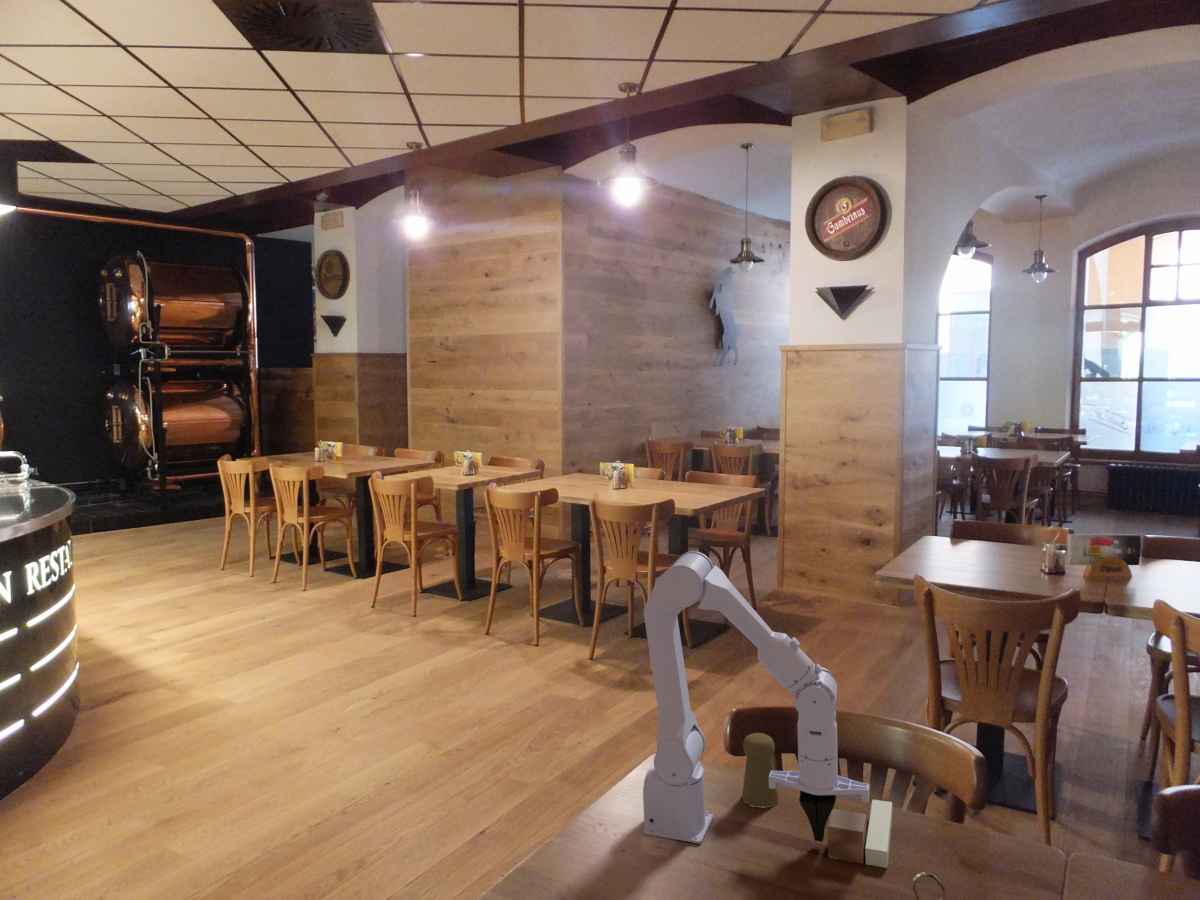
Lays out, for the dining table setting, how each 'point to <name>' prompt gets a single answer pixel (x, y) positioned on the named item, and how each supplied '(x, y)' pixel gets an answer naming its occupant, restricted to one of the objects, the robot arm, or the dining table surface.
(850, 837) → the walnut block
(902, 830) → the dining table surface
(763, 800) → the cork
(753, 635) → the robot arm
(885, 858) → the cream rectangular bar
